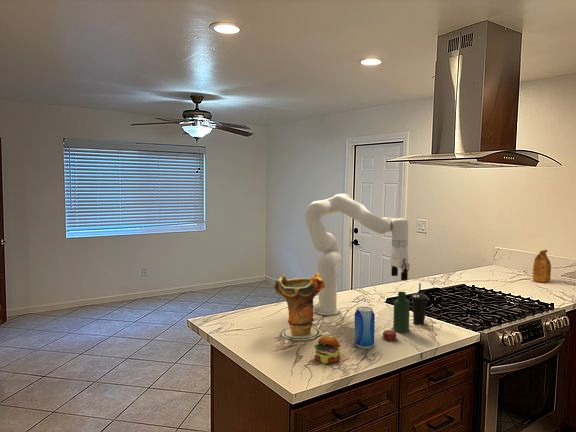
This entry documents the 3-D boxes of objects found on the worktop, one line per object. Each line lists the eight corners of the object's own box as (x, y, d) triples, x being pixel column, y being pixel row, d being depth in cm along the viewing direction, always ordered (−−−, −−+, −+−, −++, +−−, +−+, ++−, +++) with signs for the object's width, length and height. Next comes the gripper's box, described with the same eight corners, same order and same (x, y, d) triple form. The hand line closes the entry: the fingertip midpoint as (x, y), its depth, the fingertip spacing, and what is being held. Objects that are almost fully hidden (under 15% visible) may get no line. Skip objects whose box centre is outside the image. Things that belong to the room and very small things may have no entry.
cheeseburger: (310, 362, 159) (312, 335, 161) (318, 358, 169) (319, 332, 170) (336, 365, 155) (337, 338, 157) (342, 361, 165) (343, 335, 167)
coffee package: (553, 281, 289) (554, 250, 287) (545, 284, 281) (547, 252, 280) (537, 278, 297) (539, 248, 295) (530, 281, 289) (531, 250, 287)
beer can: (352, 342, 179) (352, 306, 178) (371, 341, 180) (371, 305, 179) (356, 349, 171) (357, 312, 170) (376, 349, 172) (377, 311, 170)
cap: (386, 341, 180) (386, 334, 180) (381, 337, 185) (381, 330, 185) (398, 340, 181) (398, 334, 181) (392, 336, 186) (392, 329, 186)
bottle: (397, 333, 190) (398, 294, 188) (390, 328, 197) (391, 291, 195) (411, 332, 191) (412, 294, 190) (404, 327, 198) (405, 290, 197)
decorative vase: (275, 325, 200) (275, 268, 198) (323, 326, 199) (323, 268, 197) (272, 342, 179) (272, 278, 177) (325, 342, 179) (326, 279, 176)
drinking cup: (418, 326, 198) (419, 286, 197) (407, 322, 205) (408, 282, 203) (430, 324, 202) (431, 284, 200) (418, 319, 208) (419, 280, 207)
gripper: (384, 241, 209) (384, 274, 211) (401, 246, 193) (401, 282, 194) (398, 240, 211) (397, 273, 213) (416, 245, 194) (415, 281, 196)
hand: (399, 277), depth 203 cm, fingers open, 9 cm apart
